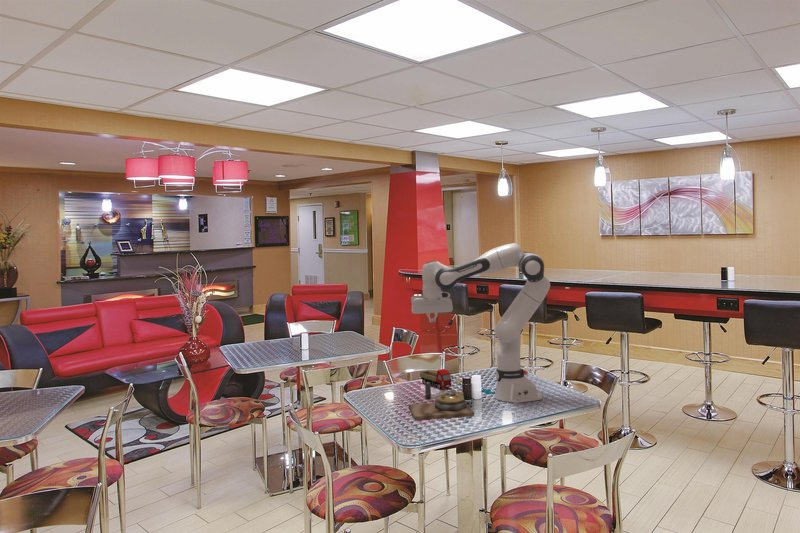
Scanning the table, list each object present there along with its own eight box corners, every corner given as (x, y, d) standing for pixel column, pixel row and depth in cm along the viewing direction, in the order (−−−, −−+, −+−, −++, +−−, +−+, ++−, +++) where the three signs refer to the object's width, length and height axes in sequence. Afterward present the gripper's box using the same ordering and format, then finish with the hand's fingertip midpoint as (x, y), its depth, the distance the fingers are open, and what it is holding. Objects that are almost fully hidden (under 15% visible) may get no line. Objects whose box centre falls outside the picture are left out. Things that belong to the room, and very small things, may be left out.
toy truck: (443, 391, 270) (442, 372, 269) (419, 383, 287) (419, 365, 287) (453, 389, 273) (453, 370, 273) (430, 381, 291) (429, 363, 290)
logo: (450, 379, 291) (466, 376, 295) (450, 381, 291) (466, 378, 295) (485, 394, 260) (502, 390, 264) (485, 396, 260) (502, 393, 264)
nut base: (463, 404, 246) (463, 395, 246) (474, 415, 228) (474, 406, 228) (408, 407, 243) (408, 399, 243) (415, 420, 225) (414, 410, 225)
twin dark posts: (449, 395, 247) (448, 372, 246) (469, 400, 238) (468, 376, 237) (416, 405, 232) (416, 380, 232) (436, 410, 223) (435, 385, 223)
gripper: (411, 295, 254) (412, 323, 254) (453, 293, 256) (453, 322, 257) (409, 294, 260) (410, 322, 260) (450, 292, 263) (451, 320, 263)
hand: (432, 322), depth 258 cm, fingers closed
